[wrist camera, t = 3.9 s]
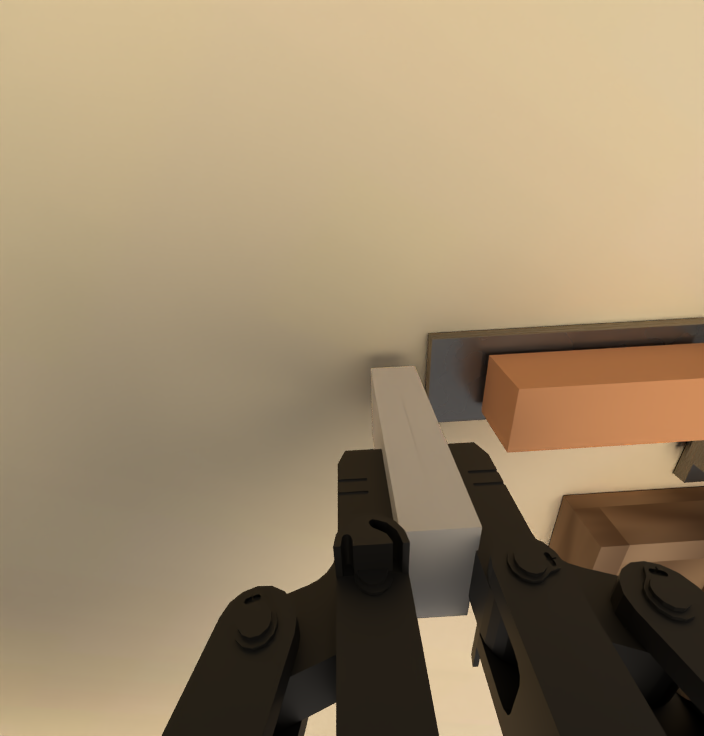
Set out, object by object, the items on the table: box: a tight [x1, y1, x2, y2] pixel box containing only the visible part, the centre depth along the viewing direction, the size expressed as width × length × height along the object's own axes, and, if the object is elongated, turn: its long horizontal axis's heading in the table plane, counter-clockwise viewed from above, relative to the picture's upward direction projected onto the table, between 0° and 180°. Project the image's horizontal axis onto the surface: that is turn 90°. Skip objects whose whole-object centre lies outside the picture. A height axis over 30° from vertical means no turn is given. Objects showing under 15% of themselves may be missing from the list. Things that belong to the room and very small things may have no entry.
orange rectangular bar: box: [481, 343, 704, 452], centre depth 13 cm, size 8×2×2 cm, turn 93°
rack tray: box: [549, 487, 704, 592], centre depth 19 cm, size 10×10×3 cm
